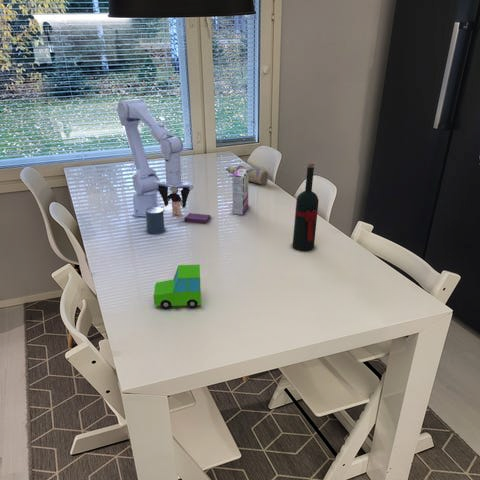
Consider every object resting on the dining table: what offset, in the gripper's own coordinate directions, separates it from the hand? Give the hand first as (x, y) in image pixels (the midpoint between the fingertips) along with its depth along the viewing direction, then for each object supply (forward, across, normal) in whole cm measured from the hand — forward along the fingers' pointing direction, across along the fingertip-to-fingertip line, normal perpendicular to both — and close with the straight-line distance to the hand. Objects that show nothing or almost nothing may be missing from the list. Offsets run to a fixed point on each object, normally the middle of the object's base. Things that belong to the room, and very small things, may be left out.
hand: (175, 206), depth 188 cm
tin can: (+8, -6, -8) cm, 12 cm away
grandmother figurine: (+4, 0, 0) cm, 4 cm away
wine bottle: (+8, +52, -10) cm, 53 cm away
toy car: (+8, +20, -58) cm, 61 cm away
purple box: (+8, +6, +8) cm, 13 cm away
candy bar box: (+8, +21, +24) cm, 33 cm away
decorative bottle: (+8, +15, +70) cm, 72 cm away
